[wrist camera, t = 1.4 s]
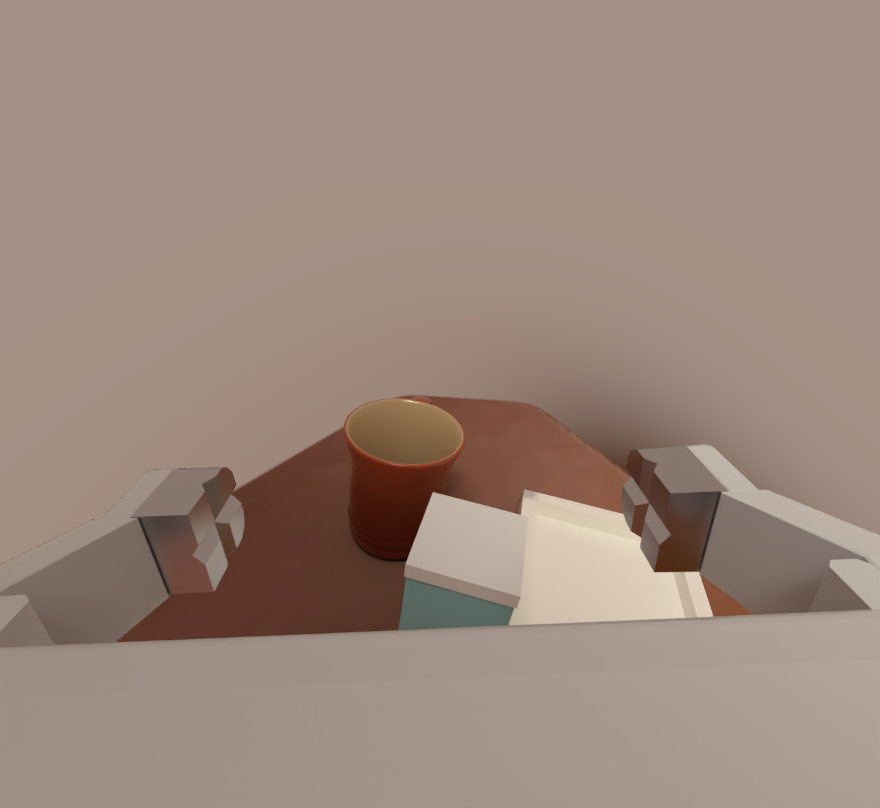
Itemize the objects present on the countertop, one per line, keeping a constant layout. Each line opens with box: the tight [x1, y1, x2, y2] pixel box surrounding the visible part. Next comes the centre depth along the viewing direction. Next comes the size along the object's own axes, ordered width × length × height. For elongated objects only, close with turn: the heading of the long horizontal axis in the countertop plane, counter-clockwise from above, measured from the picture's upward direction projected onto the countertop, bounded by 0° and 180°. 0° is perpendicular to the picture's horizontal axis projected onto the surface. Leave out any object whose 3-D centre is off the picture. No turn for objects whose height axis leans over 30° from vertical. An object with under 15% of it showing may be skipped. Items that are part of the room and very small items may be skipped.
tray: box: [509, 489, 713, 625], centre depth 35 cm, size 14×16×2 cm
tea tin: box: [398, 492, 528, 630], centre depth 26 cm, size 5×5×12 cm
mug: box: [344, 396, 465, 560], centre depth 38 cm, size 12×9×10 cm
